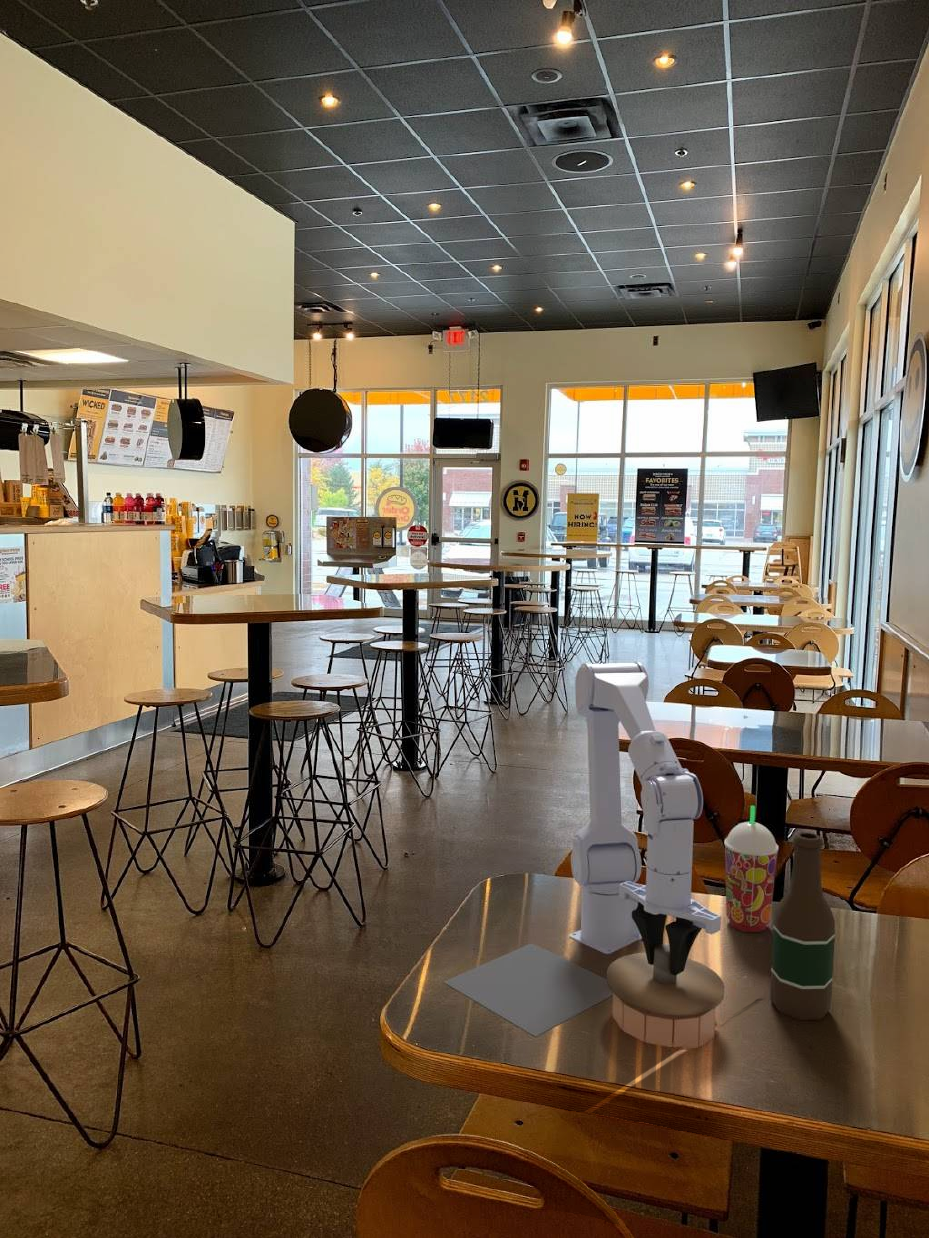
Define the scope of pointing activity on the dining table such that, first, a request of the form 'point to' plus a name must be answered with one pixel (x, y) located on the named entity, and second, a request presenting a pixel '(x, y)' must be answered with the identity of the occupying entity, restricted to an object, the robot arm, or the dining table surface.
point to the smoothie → (750, 875)
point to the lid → (665, 984)
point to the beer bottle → (803, 938)
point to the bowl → (665, 1026)
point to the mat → (532, 988)
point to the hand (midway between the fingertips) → (665, 966)
